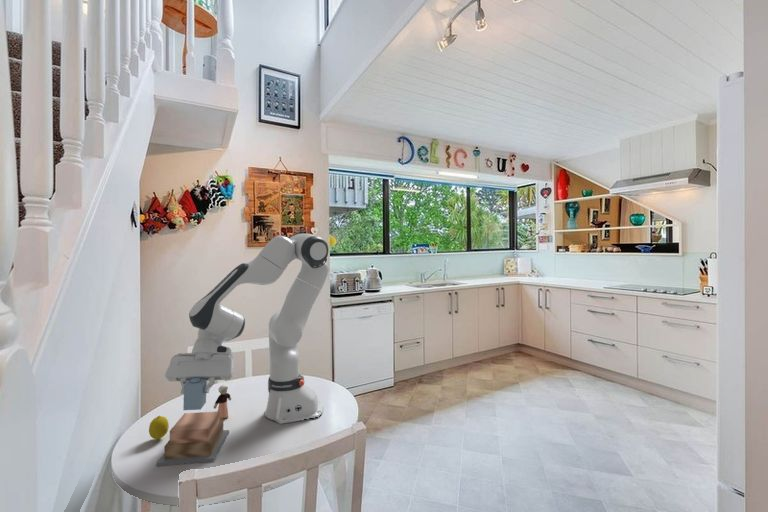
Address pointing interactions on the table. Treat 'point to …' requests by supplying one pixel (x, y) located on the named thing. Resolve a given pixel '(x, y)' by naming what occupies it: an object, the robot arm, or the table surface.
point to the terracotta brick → (194, 435)
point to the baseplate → (196, 459)
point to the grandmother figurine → (222, 402)
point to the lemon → (158, 427)
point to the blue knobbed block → (194, 394)
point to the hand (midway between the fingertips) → (194, 392)
